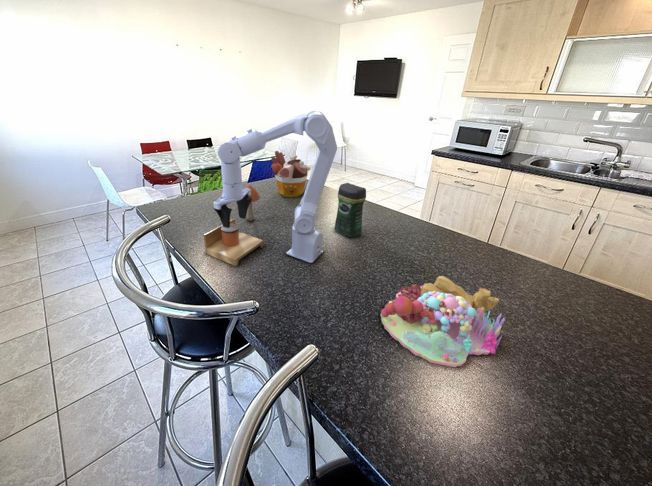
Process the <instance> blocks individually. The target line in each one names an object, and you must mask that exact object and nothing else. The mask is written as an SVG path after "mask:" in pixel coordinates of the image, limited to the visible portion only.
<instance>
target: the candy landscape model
mask: <svg viewBox="0 0 652 486" xmlns="http://www.w3.org/2000/svg"><path fill="white" fill-rule="evenodd" d="M491 294H492V293H491V291H490V290H488V289H487V288H483V287H480V288H479V289H478V291H476V292H475V293H474V294H473V295H472V294H469V293H467V291H465V289H464V288H463V287H461V286H459V285H457V284H456V283H454V282H453V281H452V280H451V279H449V278H448V277H446V276H445V275H438V276H437V278H436V280H435V282H434V283H431V282H428V283H427V282H425V283H424V284H423V285H421V286H420V285H418V284H412V285H411V286H405V287H400V288H398V291H397V293H396V295H395V298H394V299H393V300H388V302H387V303H386V304H385V305H384V308H382V309H381V311H380V320H381V324H382V325H383V328H384V330H386V332H388V333H389V335H390V336H391V337H392V338H393V339H394V341H396V342H399V343H400V345H401V346H402V347H403V348H404V349H407V350H409V351H410V352H411V353H412V354H414V355H415V356H416V357H420V358H422V360H426V361H428V362H429V363H431V364H435V365H441V366H447V367H452V368H457V367H462V366H463V365H464V364H465V363H466V362H467V358H468V356H471V355H475V356H481V355H486V356H488V355H489V354H491V355H495V354H496V353H497V351H496V350H497V348H498V346H500V342H501V340H502V338H503V337H502V336H503V334H501V329H502V327H503V325H504V323H505V321H506V317H505V316H504V317H503V318H502V319H501V317H502V315H503V314H502V313H503V312H500V314H498V316H497V317H496V320H495V319H493V321H492V320H491V317H489V316H490V313H491V310H493V309H494V308H495V307H496V306H497V304H498V303H499V302H500V299H499V298H498V297H495V296H491ZM487 312H488V313H487ZM500 320H501V321H500ZM500 334H501V335H500Z"/></svg>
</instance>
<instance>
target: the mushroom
mask: <svg viewBox="0 0 652 486" xmlns="http://www.w3.org/2000/svg"><path fill="white" fill-rule="evenodd" d="M245 188H248V189H250V190H251V195H249V197H252V201H251V202H250V204H249V207H248V210H247V214H246V219H247V221H248V222H252V221H254V218H255V215H254V209H253V202H255V203H256V202H258V201H259V200H260V198H261V196H260V194H259V192H258V190H257V189H256V188H255V187H253V186H252V185H249V184H248V185H247V186H245V187H244V188H243V189H245Z"/></svg>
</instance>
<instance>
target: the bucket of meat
mask: <svg viewBox="0 0 652 486" xmlns="http://www.w3.org/2000/svg"><path fill="white" fill-rule="evenodd" d="M289 159H290V160H289V161H287V162H286V160H285V157H284V153H283V152H281V151H280V152H279V151H278V150H275V151H274V156H271V159H270V160H271V161H272V163H271V169H272V171H273V173H274V176H275V180H276V181H275V182H276V185H277V190H278V193H279V194H280V195H281V196H283V197H284V198H298V197H300V196H302V194H304V189H305V186H306V182H307V179H308V172H309V171H311V170H312V167H310V166H309V165H307V164H305V162H304V160H302V159H299V158H298V155H296V154H294V155H293V156H289Z"/></svg>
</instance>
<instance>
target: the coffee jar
mask: <svg viewBox="0 0 652 486" xmlns="http://www.w3.org/2000/svg"><path fill="white" fill-rule="evenodd" d="M337 199H338V200H337V201H338V203H337V212H336V217H335V222H334V231H335V232H336V233H338V234H340V235H342V236H344V237H347V238H355V237H358V236H360V235H361V234H362V229H363V211H364V210H363V209H364V203H365V201H366V199H367V189H366V188H365V187H362V186H358V185H355V184H353V183H350V182H344V183H341V184H340V185H339V187H338V190H337Z"/></svg>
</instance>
